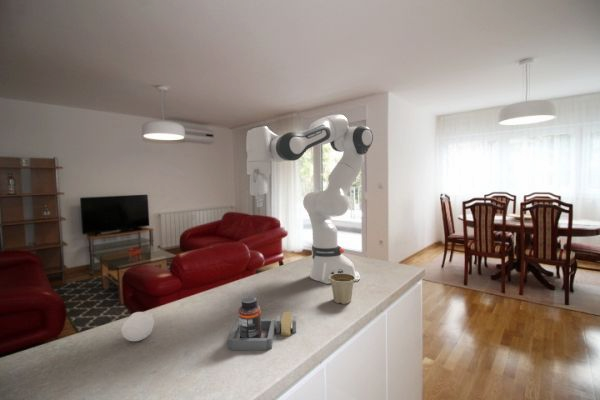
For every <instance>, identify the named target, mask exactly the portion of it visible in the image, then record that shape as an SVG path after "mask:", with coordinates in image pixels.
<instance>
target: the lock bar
mask: <svg viewBox="0 0 600 400" xmlns="http://www.w3.org/2000/svg"><path fill="white" fill-rule="evenodd" d="M281 318H282V319H281V330H280V333H281V334H280V335H281V336H282V337H283V336H284V337H285V336H288V337H289V336H291V335H292V334H291V331H292V319H293V315H292V311H284V312H283V313H282V317H281Z"/></svg>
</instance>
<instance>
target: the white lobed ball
mask: <svg viewBox="0 0 600 400" xmlns="http://www.w3.org/2000/svg"><path fill="white" fill-rule="evenodd" d="M154 324H155V322H154V315H152V313H151V312H148V311H146V312H143V311H136V312H133V313H132V314H130V317H129V318H127V319H126V320H125V321H124V322H123V324H122V327H121V328H120V332H121V334H122V337H124V339H126V340H127V341H129V342H130V341H131V342H139V341H142V340H144V339H146V338H148V337H149V335H150V334H151V333H152V330H153V329H154Z"/></svg>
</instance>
